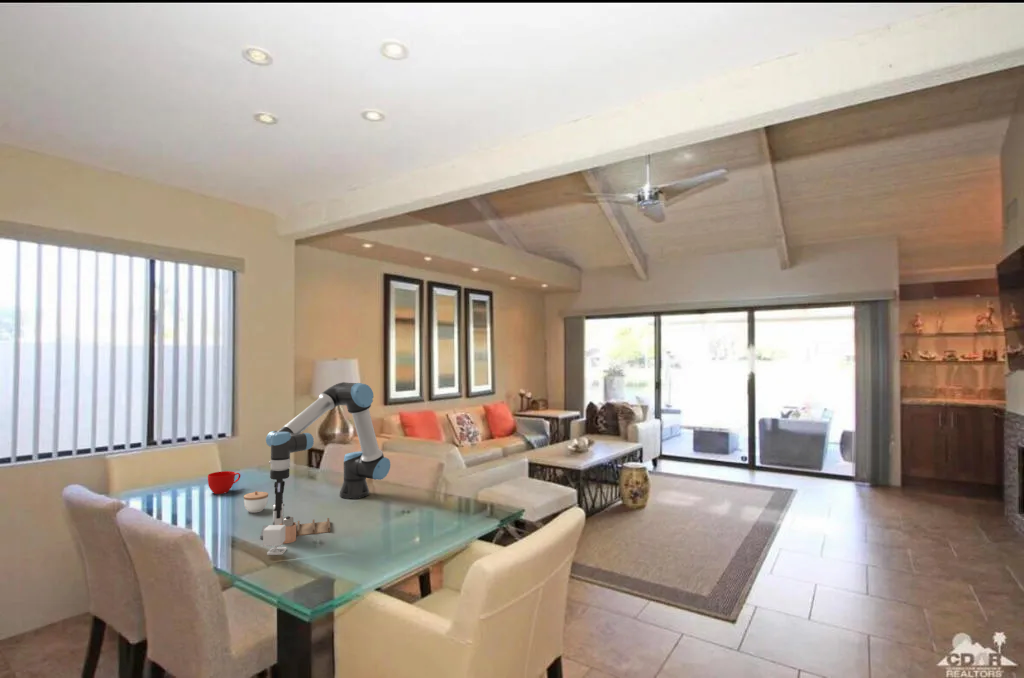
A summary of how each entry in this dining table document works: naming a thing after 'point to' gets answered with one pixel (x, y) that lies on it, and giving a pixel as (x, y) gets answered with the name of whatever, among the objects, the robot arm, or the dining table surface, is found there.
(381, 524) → the dining table surface
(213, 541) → the dining table surface
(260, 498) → the lidded jar
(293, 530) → the octagonal tan cylinder
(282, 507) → the cell
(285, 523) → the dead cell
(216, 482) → the ceramic cup
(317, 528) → the trough board
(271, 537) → the security camera
